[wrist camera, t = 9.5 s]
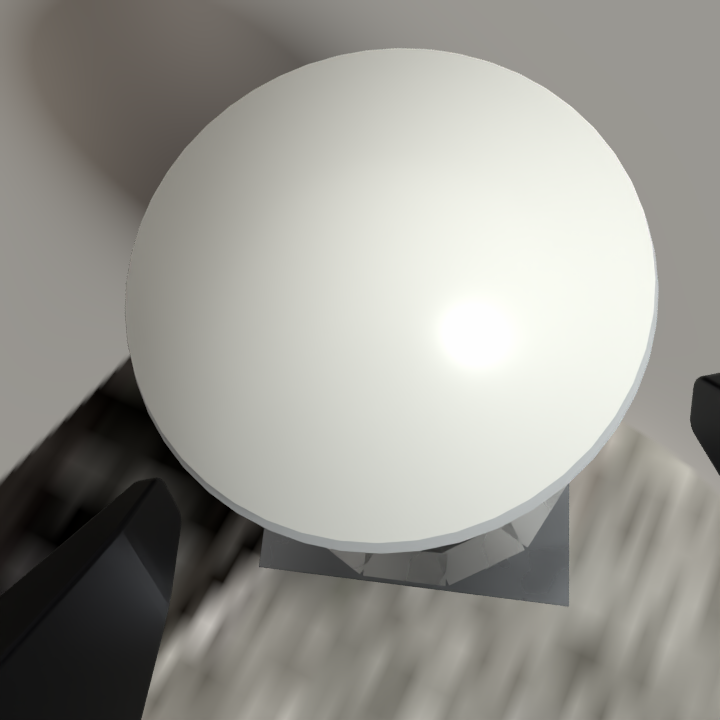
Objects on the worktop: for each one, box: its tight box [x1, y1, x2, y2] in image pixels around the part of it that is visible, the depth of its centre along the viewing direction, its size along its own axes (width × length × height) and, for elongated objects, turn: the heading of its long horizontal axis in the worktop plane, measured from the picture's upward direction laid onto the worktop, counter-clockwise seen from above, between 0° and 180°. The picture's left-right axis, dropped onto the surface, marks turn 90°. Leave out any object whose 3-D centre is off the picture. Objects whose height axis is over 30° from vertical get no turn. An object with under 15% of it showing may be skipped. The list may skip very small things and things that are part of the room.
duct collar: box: [259, 483, 569, 606], centre depth 17 cm, size 10×10×4 cm
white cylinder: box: [125, 48, 658, 554], centre depth 11 cm, size 5×5×13 cm
